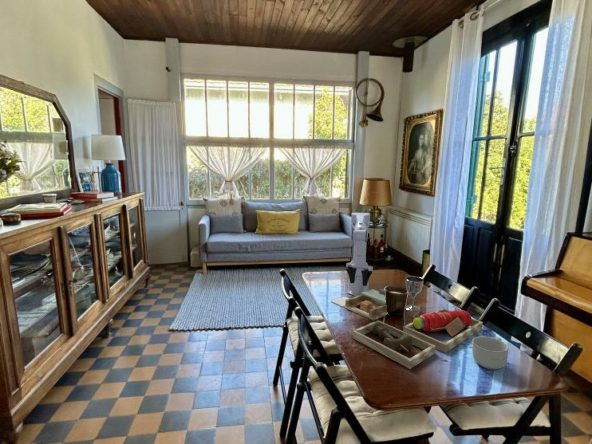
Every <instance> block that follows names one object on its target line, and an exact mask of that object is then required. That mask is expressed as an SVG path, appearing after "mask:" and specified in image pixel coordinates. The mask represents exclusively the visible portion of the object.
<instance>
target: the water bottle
mask: <svg viewBox="0 0 592 444" xmlns="http://www.w3.org/2000/svg"><path fill="white" fill-rule="evenodd" d="M472 318H473V317H472V315H471V313H469V312H468V311H466V310H462V309H458V310H457V309H455V310H450V311H449V312H441V313H440V312H435V311H434V312H433V311H432V312H428V313H422V314H420V315H419V316H418V317H415V318H414V319H413V320H412V321H413V324H414V327H415V328H416V329H415V330H422V331H424V332H427V333H429V332H430V333H431V332H432V333H433V332H439V331H444V330H445V331H446V332H447V334H448V335H449V336H450V337H452V338H454V337H455V335H456V334H458V333H459V332H460V331H461V330H463V329H468V328H470V327H471V323H472Z"/></svg>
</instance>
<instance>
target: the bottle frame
mask: <svg viewBox="0 0 592 444" xmlns="http://www.w3.org/2000/svg"><path fill="white" fill-rule="evenodd" d="M449 311H451V310H450V309H446V308H444V307H441V308H439V309H437V310H435V311H434V312H440V313H441V312H449ZM471 318H472V323H471V325H470V326H469V327H468V328H466V329H465V330H463V331H462V332H460V333H459V334H457V335H456V336H453V337H452V338H451V339H449V340H447V341H446V342H443V341H441V340H438V339H436V338H433V337H431V336H430V335H429V336H428V335H426V334H425V333H423V332H421V331H420V332H419V331H418V330H417V329H416V328H415V327H414V324H413V322H410V323H408V324H406V325H403V327H402V328H403V329H402V331H404V332H406V333H408V334H410V335H413V336H415V337H417V338H419V339H422V340H424V341H426V342H428V343H430V344H433V345H435V346H436V348H435V350H439V351H441V352H443V353H447V352H448V351H450V350H451V349H453V348H455V347H457V346H458V345H459V344H461V343H462V342H465V340H468V338H470V337H472V336H473V335H475V334H476V333H478V332H479V331H481V330H483V326H484V325H483V324H484V322H483V321H481V320H479V319H476V318H473V317H471Z"/></svg>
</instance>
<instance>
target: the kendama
mask: <svg viewBox="0 0 592 444" xmlns="http://www.w3.org/2000/svg"><path fill="white" fill-rule="evenodd" d="M372 333H373V334H374V335H376V336H378V337H379V338H380V339H383V345H384V346H386V347H388V348H390V349H392V350H394V351H396V350H397V349H402V350H403V351H405V352H407V353H410V351H411V350H412V349H413V347H414V345H413V342H412V339H411V337H410V336H409V335H408V334H407V333H404V334H403V335H402V336H401V337H400V338H394V337H393V335H392V334H390V333H389V330H388V329H387V328H384V326H383V324H382V323H377V324H375V325H374V326H373V331H372Z"/></svg>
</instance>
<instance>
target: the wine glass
mask: <svg viewBox="0 0 592 444" xmlns="http://www.w3.org/2000/svg"><path fill="white" fill-rule="evenodd" d="M423 286H424V278H422V277H420V276H415V275H410V276H406V277H405V287H406V291H407V292H408V293H409V295H410V297H411V305H410V304H409V305H405V306H406V307H405V306H404V309H405V310H407V311H409V312H420V311H421V308H420V307H418V306H417V305H415V303H414V302H415V298H416V296H417V295H418V294H420V293H421V291H422V290H423Z"/></svg>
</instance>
